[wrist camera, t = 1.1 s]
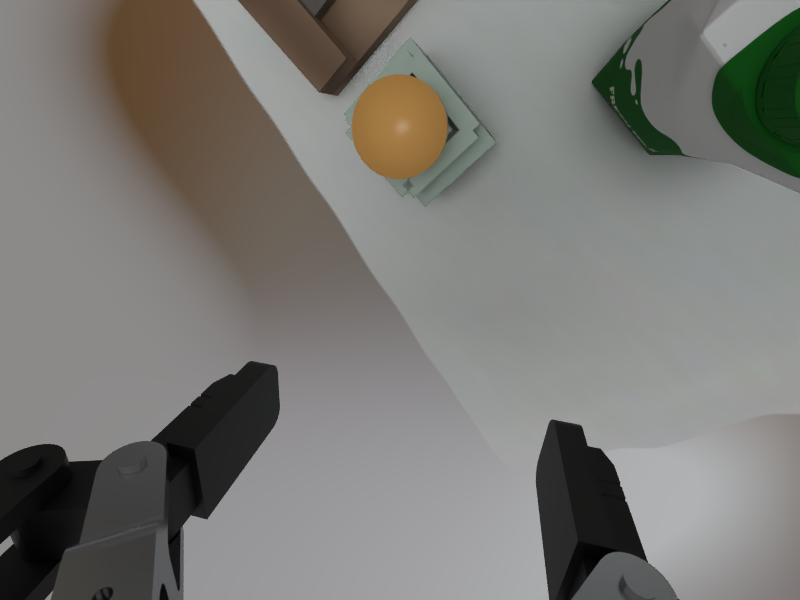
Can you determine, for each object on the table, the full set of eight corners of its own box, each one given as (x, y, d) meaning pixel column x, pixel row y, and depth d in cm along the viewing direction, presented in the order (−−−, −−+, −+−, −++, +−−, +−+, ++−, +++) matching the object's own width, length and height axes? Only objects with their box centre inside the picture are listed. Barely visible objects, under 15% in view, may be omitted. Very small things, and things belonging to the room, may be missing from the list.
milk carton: (571, 82, 29) (702, 17, 11) (695, -35, 26) (1175, -401, 8) (645, 173, 31) (866, 243, 13) (773, 74, 27) (1336, -22, 9)
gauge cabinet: (423, 51, 31) (396, 21, 22) (494, 138, 32) (496, 144, 23) (368, 112, 33) (324, 108, 24) (437, 191, 34) (418, 215, 25)
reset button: (413, 61, 23) (399, 49, 19) (470, 130, 23) (467, 131, 20) (355, 126, 24) (332, 127, 21) (409, 187, 25) (396, 198, 22)
